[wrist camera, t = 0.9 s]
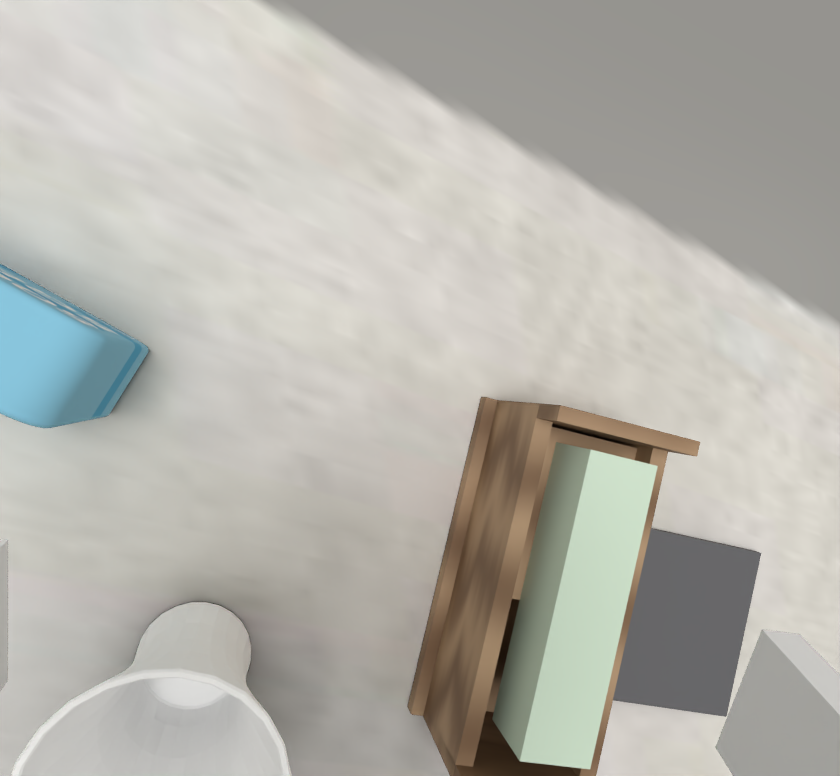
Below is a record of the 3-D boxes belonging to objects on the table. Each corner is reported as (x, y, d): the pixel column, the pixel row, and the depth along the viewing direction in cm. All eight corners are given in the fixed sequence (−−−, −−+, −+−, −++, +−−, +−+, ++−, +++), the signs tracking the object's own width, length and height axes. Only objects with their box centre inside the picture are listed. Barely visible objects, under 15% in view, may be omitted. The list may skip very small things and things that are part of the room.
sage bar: (555, 727, 36) (590, 769, 32) (492, 719, 35) (519, 761, 31) (616, 457, 37) (657, 466, 33) (556, 442, 36) (590, 449, 32)
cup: (169, 780, 37) (112, 1003, 24) (59, 643, 35) (-67, 798, 22) (318, 666, 39) (342, 813, 26) (219, 532, 37) (191, 614, 24)
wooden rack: (547, 724, 42) (629, 826, 33) (407, 706, 40) (451, 810, 30) (613, 431, 43) (712, 445, 34) (481, 397, 41) (546, 401, 31)
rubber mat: (720, 712, 45) (726, 716, 45) (574, 690, 43) (579, 695, 42) (754, 551, 46) (761, 553, 45) (613, 519, 43) (618, 521, 43)
